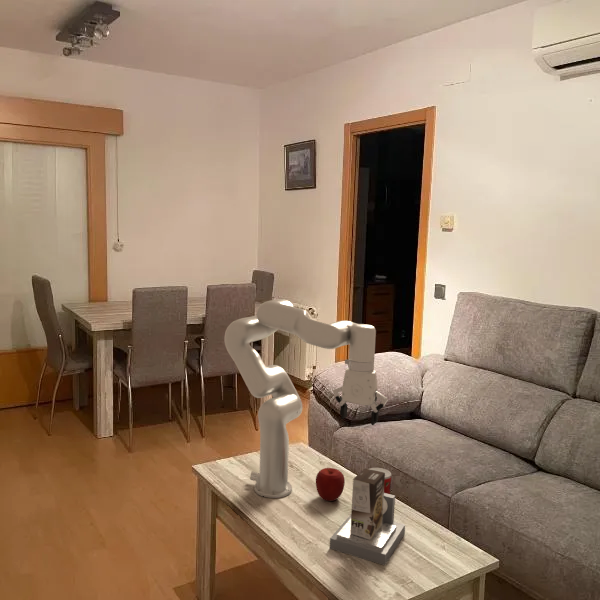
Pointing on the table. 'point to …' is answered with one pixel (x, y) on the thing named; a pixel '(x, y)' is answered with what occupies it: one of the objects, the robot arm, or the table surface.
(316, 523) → the table surface
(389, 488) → the canned food
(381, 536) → the scale pan
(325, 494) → the apple
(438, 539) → the table surface
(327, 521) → the table surface
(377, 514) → the coffee box
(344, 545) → the base
